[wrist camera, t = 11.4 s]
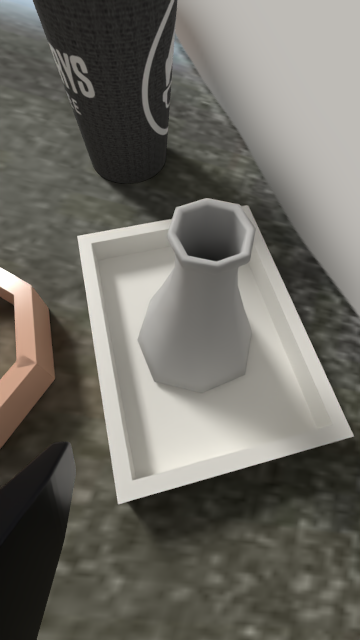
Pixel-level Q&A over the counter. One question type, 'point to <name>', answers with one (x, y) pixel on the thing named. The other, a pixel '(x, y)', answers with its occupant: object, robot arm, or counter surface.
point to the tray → (188, 406)
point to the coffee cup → (116, 78)
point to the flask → (201, 300)
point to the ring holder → (25, 354)
